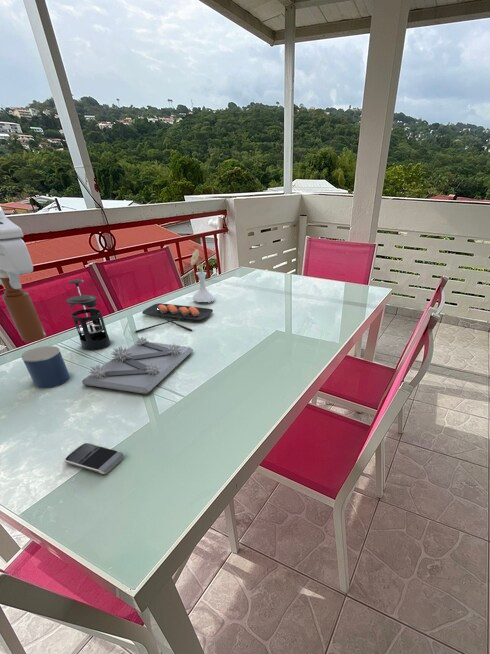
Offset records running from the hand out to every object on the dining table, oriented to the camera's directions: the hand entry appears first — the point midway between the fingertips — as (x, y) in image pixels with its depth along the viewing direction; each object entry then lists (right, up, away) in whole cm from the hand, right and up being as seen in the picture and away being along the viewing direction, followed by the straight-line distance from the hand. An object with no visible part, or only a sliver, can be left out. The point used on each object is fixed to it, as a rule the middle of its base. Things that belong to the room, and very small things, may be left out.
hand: (11, 286), depth 84 cm
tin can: (-1, -23, +15) cm, 28 cm away
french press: (-1, -9, +37) cm, 38 cm away
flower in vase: (+26, +20, +81) cm, 87 cm away
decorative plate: (+23, -19, +24) cm, 38 cm away
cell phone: (+28, -43, -11) cm, 52 cm away
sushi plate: (+18, +5, +58) cm, 61 cm away
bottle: (-1, -11, +8) cm, 14 cm away
